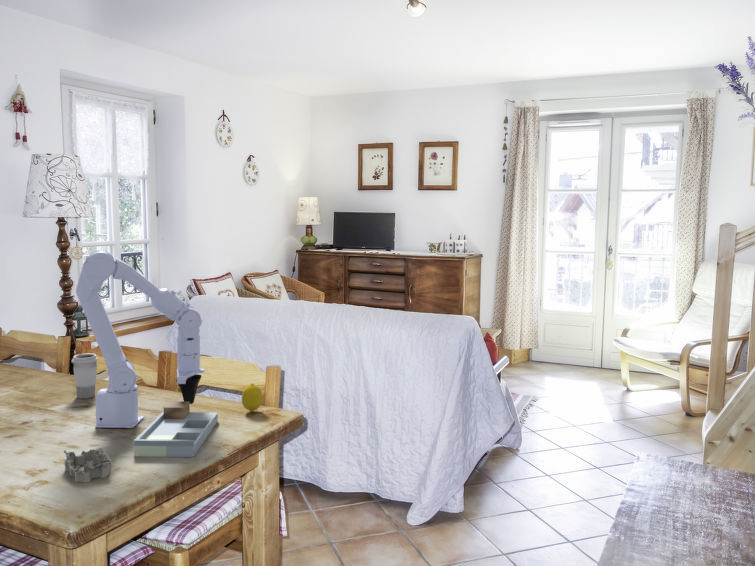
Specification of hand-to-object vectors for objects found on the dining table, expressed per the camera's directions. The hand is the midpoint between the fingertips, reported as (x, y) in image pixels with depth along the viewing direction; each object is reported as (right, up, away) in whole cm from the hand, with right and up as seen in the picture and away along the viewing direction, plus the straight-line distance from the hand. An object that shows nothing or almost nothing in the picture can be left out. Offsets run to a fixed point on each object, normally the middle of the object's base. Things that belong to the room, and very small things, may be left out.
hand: (189, 403), depth 160 cm
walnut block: (-1, -2, -7) cm, 8 cm away
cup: (-35, -1, +15) cm, 38 cm away
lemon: (+16, -4, +5) cm, 17 cm away
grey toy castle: (-10, -8, -35) cm, 37 cm away
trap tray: (+2, -5, -15) cm, 16 cm away
